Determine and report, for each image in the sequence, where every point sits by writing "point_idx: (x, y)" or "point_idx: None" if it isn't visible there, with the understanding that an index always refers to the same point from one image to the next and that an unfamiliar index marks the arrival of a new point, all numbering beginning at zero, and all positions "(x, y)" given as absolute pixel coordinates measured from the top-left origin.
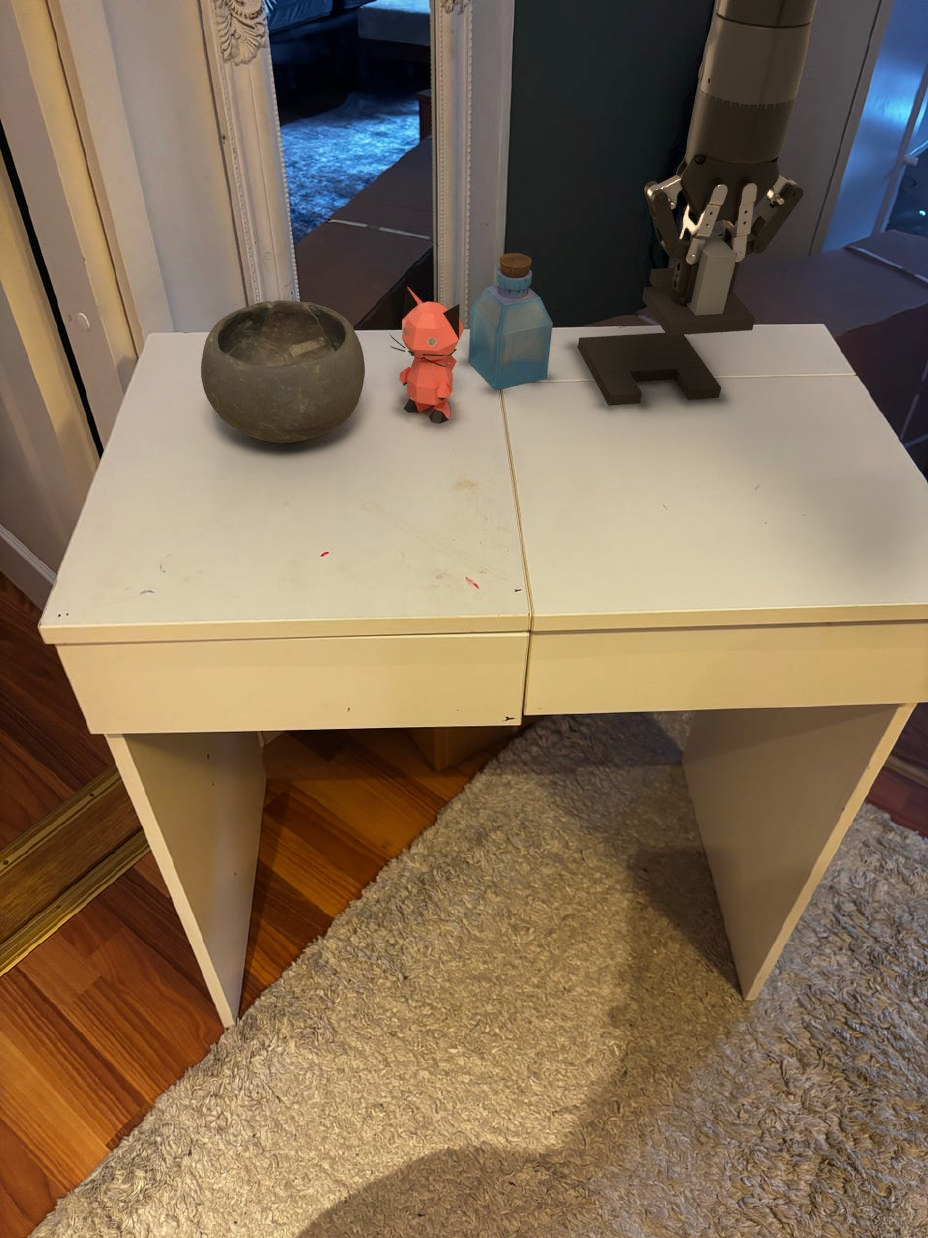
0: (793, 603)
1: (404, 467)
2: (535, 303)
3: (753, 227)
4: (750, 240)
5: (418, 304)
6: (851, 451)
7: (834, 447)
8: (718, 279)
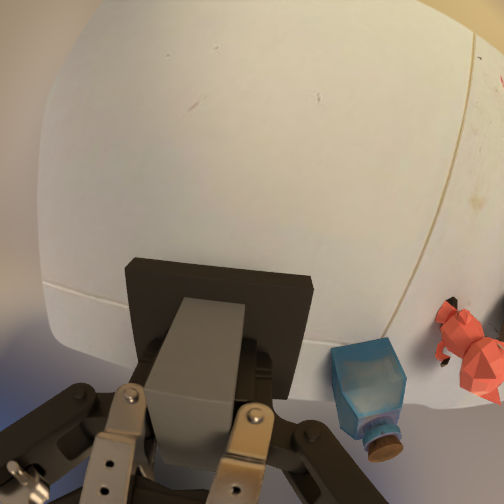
0: None
1: (499, 242)
2: (364, 411)
3: (86, 443)
4: (97, 417)
5: (497, 387)
6: (70, 158)
7: (82, 167)
8: (196, 350)
